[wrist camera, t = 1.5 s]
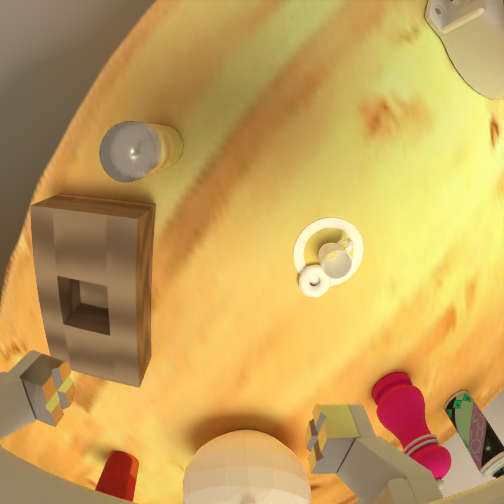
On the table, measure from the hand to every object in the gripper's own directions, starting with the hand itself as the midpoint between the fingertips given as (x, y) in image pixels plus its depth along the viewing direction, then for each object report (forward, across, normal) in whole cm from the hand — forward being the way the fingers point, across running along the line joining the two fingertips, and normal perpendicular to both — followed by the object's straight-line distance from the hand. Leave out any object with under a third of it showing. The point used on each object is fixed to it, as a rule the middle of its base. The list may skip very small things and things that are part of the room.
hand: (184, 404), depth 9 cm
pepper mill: (+28, -26, +20) cm, 43 cm away
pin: (+24, +8, -8) cm, 27 cm away
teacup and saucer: (+26, -7, +1) cm, 27 cm away
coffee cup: (+28, +17, +47) cm, 58 cm away
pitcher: (+28, -5, +35) cm, 45 cm away
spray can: (+29, -44, +26) cm, 59 cm away
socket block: (+25, +15, +8) cm, 30 cm away
